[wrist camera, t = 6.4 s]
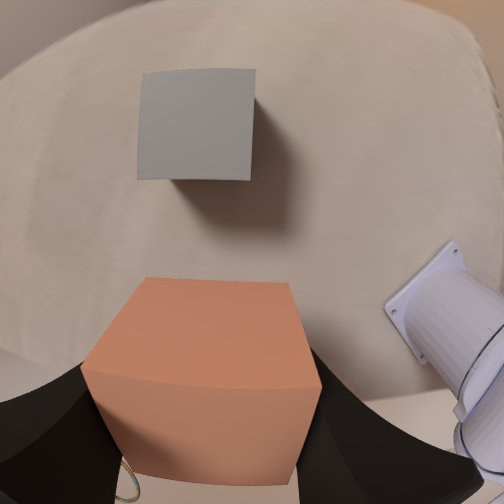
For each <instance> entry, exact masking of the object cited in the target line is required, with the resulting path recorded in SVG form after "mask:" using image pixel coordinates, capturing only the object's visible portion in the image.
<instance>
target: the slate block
mask: <svg viewBox="0 0 504 504" xmlns="http://www.w3.org/2000/svg"><path fill="white" fill-rule="evenodd" d="M255 75H256V69H232V68H214V69H187V70H173V71H162V72H153V73H145V74H143V80H142V90H141V100H140V112H139V128H138V153H137V180H156V179H219V180H250V177H251V156H252V135H253V115H254V95H255Z"/></svg>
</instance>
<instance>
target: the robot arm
mask: <svg viewBox="0 0 504 504" xmlns="http://www.w3.org/2000/svg"><path fill="white" fill-rule="evenodd" d="M454 250H455V252H454ZM393 310H394V312H392V311H393ZM384 311H385V312H386V314H387V315H388V316H389V318H390V319H391V321H392V322H393V324H394V325H395V326H396V328H397V329H398V331H399V332H400V334H401V335H402V337H403V338H404V340H405V341H406V343H407V344H408V346H409V347H410V349H411V350H412V352H413V353H414V355H415V356H416V358H417V359H418V361H419V363H420V364H421V365H424V364H426V363H427V362H428V361H429V362H430V364H431V365H432V366H433V368H434V369H435V370H436V372H437V373H438V374H439V375H440V377H441V378H442V379H443V381H444V382H445V383H446V385H447V386H448V388H449V389H450V390H451V392H452V393H453V394H454V396H455V397H456V398H457V400H458V403H457V405H456V407H455V408H454V409H453V412H454V414H455V415H456V416H457V418H458V420H459V422H458V423H457V425H456V427H455V430H454V445H455V449H456V453H457V454H454V453H451V452H448V451H445V450H442V449H439V448H437V447H434V446H432V445H430V444H427V443H425V442H423V441H421V440H419V439H417V438H415V437H413V436H411V435H409V434H407V433H406V432H404V431H402V430H401V429H399V428H397V427H396V426H394V425H392V424H391V423H389V422H388V421H386V420H385V419H383V418H382V417H381V416H379V415H378V414H377V413H375V412H374V411H373V410H371V409H370V408H369V407H367V406H366V405H365V404H364V403H363V402H361V401H360V400H359V399H358V398H357V397H356V396H355V395H354V394H353V393H352V392H350V391H349V390H348V389H347V388H346V387H345V386H344V385H343V384H342V382H341V381H340V380H339V379H338V378H337V377H336V376H335V375H334V374H333V373H332V372H331V371H330V370H329V369H328V367H327V366H326V365H325V364H324V363H323V362H322V360H321V359H320V358H319V357H318V356H317V354H316V353H315V352H314V351H313V350H312V348H311V347H310V346H309V347H310V350H311V353H312V356H313V359H314V363H315V366H316V369H317V372H318V375H319V378H320V381H321V385H322V389H321V392H320V396H319V399H318V402H317V406H316V409H315V412H314V415H313V418H312V421H311V424H310V427H309V430H308V433H307V436H306V439H305V441H304V444H303V447H302V450H301V452H300V455H299V458H298V460H297V463H296V468H297V476H298V487H299V500H300V504H461V503H462V502H464V501H465V500H466V499H468V498H469V497H470V496H472V495H473V494H474V493H475V492H476V491H478V490H479V489H480V488H481V487H482V486H483V483H484V480H488V481H492V482H495V483H497V484H499V485H501V486H502V487H503V488H504V296H502V295H501V294H499V293H498V292H497V291H495V290H494V289H492V288H491V287H489V286H488V285H486V284H485V283H483V282H482V281H480V280H479V279H477V278H475V277H474V276H472V275H471V274H469V273H468V270H467V267H466V265H465V262H464V259H463V257H462V254H461V252H460V249H459V247H458V244H457V243H456V242H455V241H453V240H452V241H450V242H449V243H448V244H447V245H446V246H445V247H444V248H443V249H442V250H441V251H440V252H439V253H438V254H437V255H436V256H435V257H434V258H433V259H432V260H431V261H430V262H429V263H428V264H427V265H426V266H425V267H424V268H423V269H422V270H421V271H420V272H419V273H418V274H417V275H416V276H415V277H414V278H413V279H412V280H411V281H410V282H409V283H408V284H407V285H406V286H405V287H403V288H402V289H401V290H400V291H399V292H398V293H397V294H396V295H395V296H394V297H392V298H391V299H390V300H389V301H388V302H387V303H386V304H385V306H384ZM391 312H392V313H391ZM83 362H84V361H83ZM83 362H82V363H80V364H79V365H77V366H76V367H74V368H73V369H71V370H69V371H68V372H66V373H65V374H63V375H62V376H60V377H59V378H57V379H55V380H53V381H51V382H50V383H48V384H46V385H44V386H42V387H40V388H38V389H36V390H33V391H31V392H29V393H26V394H23V395H21V396H19V397H16V398H13V399H11V400H8V401H4V402H1V403H0V504H114V502H115V494H116V487H117V481H118V475H119V470H120V466H121V461H122V456H123V455H122V453H121V451H120V450H119V448H118V446H117V444H116V443H115V441H114V439H113V437H112V435H111V434H110V432H109V430H108V428H107V426H106V424H105V422H104V420H103V418H102V416H101V414H100V412H99V410H98V408H97V406H96V404H95V401H94V399H93V397H92V395H91V392H90V390H89V388H88V385H87V383H86V381H85V378H84V376H83V373H82V371H81V368H80V367H81V365H82V364H83ZM488 504H504V492H502V494H500V495H499V496H497V497H496V498H495V499H493V500H492V501H491V502H489V503H488Z"/></svg>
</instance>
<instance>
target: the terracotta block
mask: <svg viewBox="0 0 504 504" xmlns="http://www.w3.org/2000/svg"><path fill="white" fill-rule="evenodd" d="M80 368H81V371H82V373H83V376H84V378H85V381H86V383H87V385H88V388H89V390H90V392H91V395H92V397H93V399H94V401H95V404H96V406H97V408H98V410H99V412H100V414H101V416H102V418H103V420H104V422H105V424H106V426H107V428H108V430H109V432H110V434H111V435H112V437H113V439H114V441H115V443H116V444H117V446H118V448H119V450H120V451H121V453H122V455H123V456H124V458H125V459H126V461H127V463H128V464H129V466H130V467H131V469H132V471H133V472H135V473H139V474H144V475H148V476H153V477H159V478H164V479H170V480H177V481H185V482H192V483H201V484H213V485H230V486H271V485H288V483H289V480H290V478H291V475H292V473H293V470H294V468H295V465H296V463H297V460H298V458H299V455H300V452H301V450H302V447H303V444H304V441H305V439H306V436H307V433H308V430H309V427H310V424H311V421H312V418H313V415H314V412H315V409H316V406H317V402H318V399H319V396H320V392H321V389H322V385H321V381H320V378H319V375H318V372H317V369H316V366H315V363H314V359H313V356H312V353H311V350H310V347H309V344H308V341H307V338H306V335H305V332H304V329H303V326H302V323H301V320H300V317H299V314H298V311H297V308H296V305H295V302H294V299H293V296H292V293H291V290H290V287H289V284H288V283H268V282H237V281H212V280H191V279H172V278H155V277H146V278H145V279H144V281H143V282H142V283H141V284H140V286H139V287H138V288H137V289H136V291H135V292H134V293H133V295H132V296H131V297H130V299H129V300H128V301H127V303H126V304H125V305H124V306H123V308H122V309H121V310H120V312H119V313H118V314H117V316H116V317H115V319H114V320H113V321H112V323H111V324H110V325H109V327H108V328H107V329H106V331H105V332H104V334H103V335H102V336H101V338H100V339H99V341H98V342H97V343H96V345H95V346H94V348H93V349H92V351H91V352H90V354H89V355H88V356H87V358H86V359H85V361H84V362H83V364H82V365H81V367H80Z"/></svg>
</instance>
